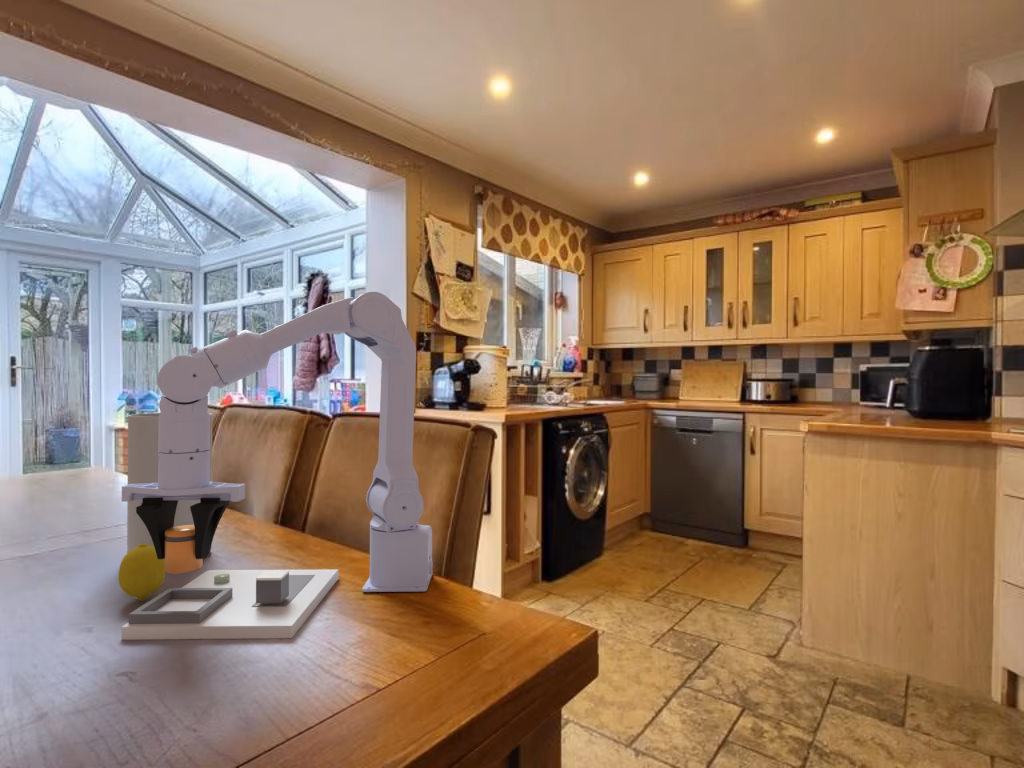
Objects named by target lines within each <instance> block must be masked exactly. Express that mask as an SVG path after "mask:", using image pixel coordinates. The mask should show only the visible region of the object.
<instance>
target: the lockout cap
mask: <svg viewBox="0 0 1024 768" xmlns="http://www.w3.org/2000/svg"><path fill="white" fill-rule="evenodd" d="M203 561H204V558H203V559H196V555H195V527H194V525H183V526H177V527H172V528H169V529H167V530H165V572H166V573H167V574H183V573H184V574H185V573H190V572H193V571H194V572H195V571H196V570H200V569H201V568H203V563H204V562H203Z"/></svg>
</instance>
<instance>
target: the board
mask: <svg viewBox="0 0 1024 768" xmlns="http://www.w3.org/2000/svg"><path fill="white" fill-rule="evenodd" d="M264 571H289V595H288V596H287V597H286V598H285V600H284V601H283V602H282V603H256V578H257V577H258V576H259V575H260V574H262V573H263V572H264ZM338 580H339V569H336V568H335V569H334V568H332V569H327V568H326V569H322V568H321V569H208V570H206V571H205V572H203V573H202V574H200V575H198V576H197V577H195V578H193V579H192V580H191V581H189V582H188V583H187V584H185V585H184V586H182V587H172V588H171V587H169V588H167V589H166V590H164V591H163V592H161V593H160V594H157V596H155V597H154V598H152V599H150V600H149V601H148V602H146V603H144V604H143V605H141V606H139V607H137V608H136V609H135V610H133V611H131V612H130V613H128V622H126V623H125V624H124V625H122V626H121V641H122V640H126V641H127V640H128V641H130V640H133V641H134V640H143V641H145V640H216V639H217V640H219V639H220V640H223V639H225V640H230V639H232V640H233V639H237V640H238V639H239V640H241V639H242V640H244V639H292V638H294V636H295V634H297V632H298V631H299V630H300V628H301V627H302V626H303V625H304V623H305V622H306V621H307V619H308V618H309V617H310V615H311V614H312V613H313V612H314V610H315V609H316V608H317V607H318V605H319V604H320V603H321V601H322V600H323V599H324V598H325V596H327V594H328V593H329V591H330V590H331V589H332V588H333V586H334V585H335V584H336V582H337V581H338Z"/></svg>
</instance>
